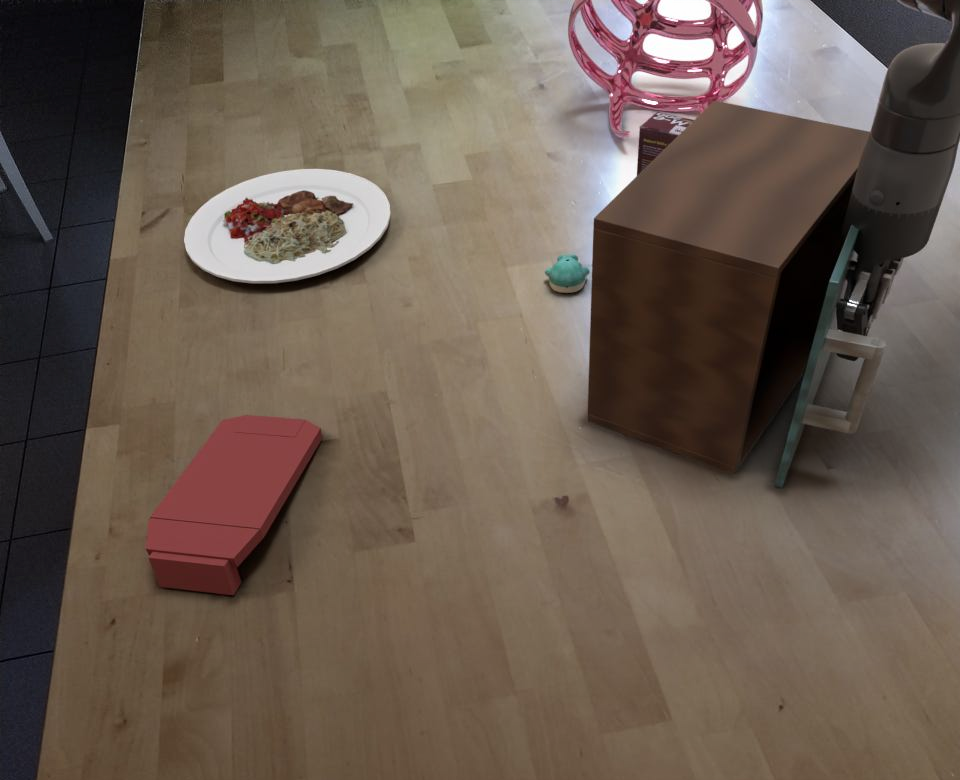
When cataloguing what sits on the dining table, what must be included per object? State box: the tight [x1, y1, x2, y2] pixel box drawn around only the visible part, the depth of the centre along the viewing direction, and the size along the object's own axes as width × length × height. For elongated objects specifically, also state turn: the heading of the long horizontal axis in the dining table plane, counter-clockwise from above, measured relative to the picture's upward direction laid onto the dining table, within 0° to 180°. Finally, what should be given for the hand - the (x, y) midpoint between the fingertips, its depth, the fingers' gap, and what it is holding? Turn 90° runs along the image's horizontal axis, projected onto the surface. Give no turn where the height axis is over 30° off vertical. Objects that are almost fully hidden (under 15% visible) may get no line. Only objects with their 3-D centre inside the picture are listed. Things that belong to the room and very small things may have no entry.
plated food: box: [183, 168, 392, 284], centre depth 129 cm, size 30×30×3 cm
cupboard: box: [586, 101, 870, 475], centre depth 95 cm, size 18×26×24 cm
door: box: [774, 225, 887, 488], centre depth 90 cm, size 6×26×24 cm, turn 155°
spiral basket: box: [567, 0, 764, 139], centre depth 132 cm, size 28×28×27 cm
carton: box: [144, 414, 324, 596], centre depth 98 cm, size 12×5×25 cm
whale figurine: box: [544, 254, 590, 294], centre depth 117 cm, size 6×7×4 cm
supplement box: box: [636, 111, 695, 177], centre depth 115 cm, size 9×5×16 cm, turn 56°
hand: (848, 354), depth 92 cm, fingers closed
